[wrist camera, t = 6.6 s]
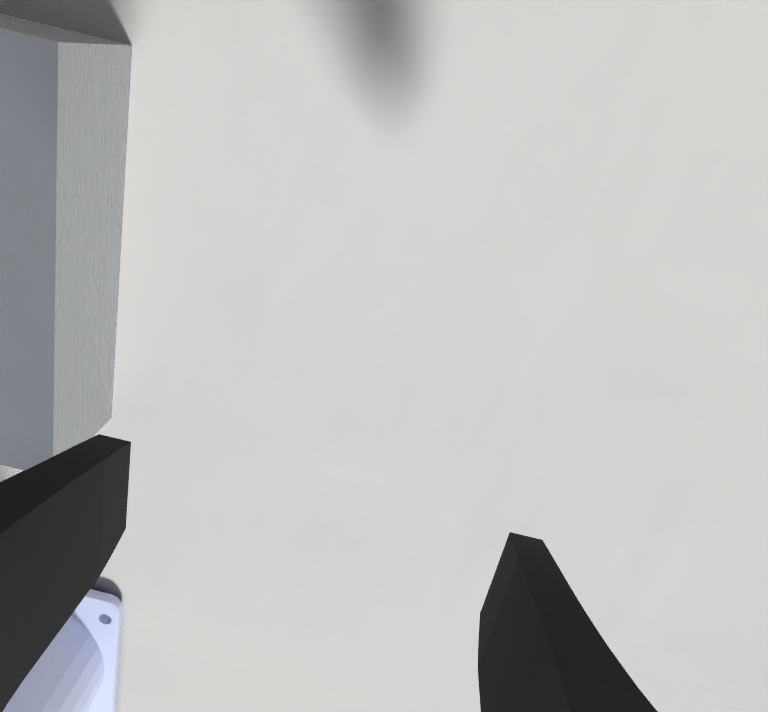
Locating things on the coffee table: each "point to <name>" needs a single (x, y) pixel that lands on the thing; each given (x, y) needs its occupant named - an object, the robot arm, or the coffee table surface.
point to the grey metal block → (58, 234)
